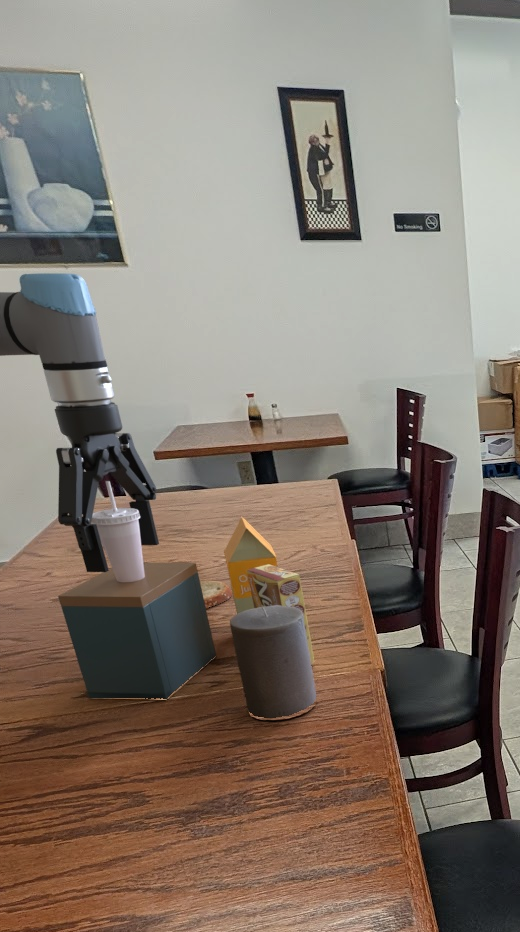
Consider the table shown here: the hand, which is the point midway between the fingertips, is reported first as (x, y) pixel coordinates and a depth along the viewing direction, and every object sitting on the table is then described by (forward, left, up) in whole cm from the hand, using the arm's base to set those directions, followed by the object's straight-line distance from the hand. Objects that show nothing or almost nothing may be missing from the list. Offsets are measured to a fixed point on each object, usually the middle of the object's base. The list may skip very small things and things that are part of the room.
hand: (125, 557), depth 119 cm
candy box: (+19, +6, -19) cm, 28 cm away
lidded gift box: (0, 0, -19) cm, 19 cm away
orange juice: (+10, +18, -19) cm, 28 cm away
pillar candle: (+24, -9, -19) cm, 32 cm away
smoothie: (0, 0, -3) cm, 3 cm away
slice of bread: (-14, +32, -19) cm, 40 cm away
